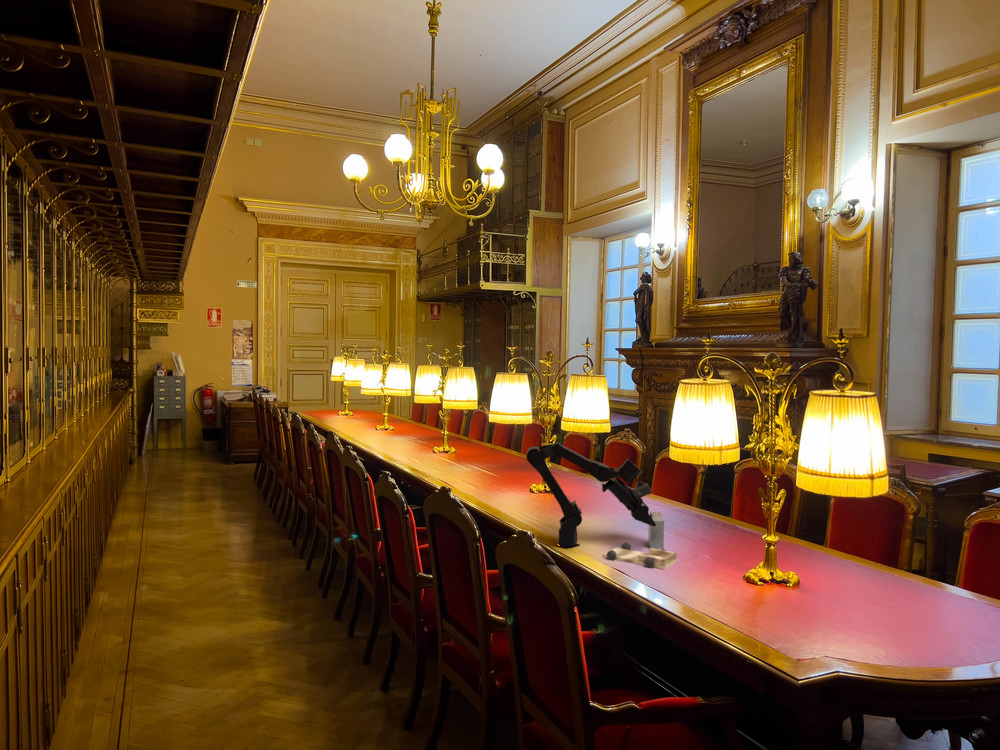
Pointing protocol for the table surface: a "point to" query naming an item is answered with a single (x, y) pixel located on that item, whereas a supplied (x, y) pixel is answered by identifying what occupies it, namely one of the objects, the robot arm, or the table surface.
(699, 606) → the table surface
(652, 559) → the chassis
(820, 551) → the table surface
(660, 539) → the grey rectangular block
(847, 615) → the table surface
